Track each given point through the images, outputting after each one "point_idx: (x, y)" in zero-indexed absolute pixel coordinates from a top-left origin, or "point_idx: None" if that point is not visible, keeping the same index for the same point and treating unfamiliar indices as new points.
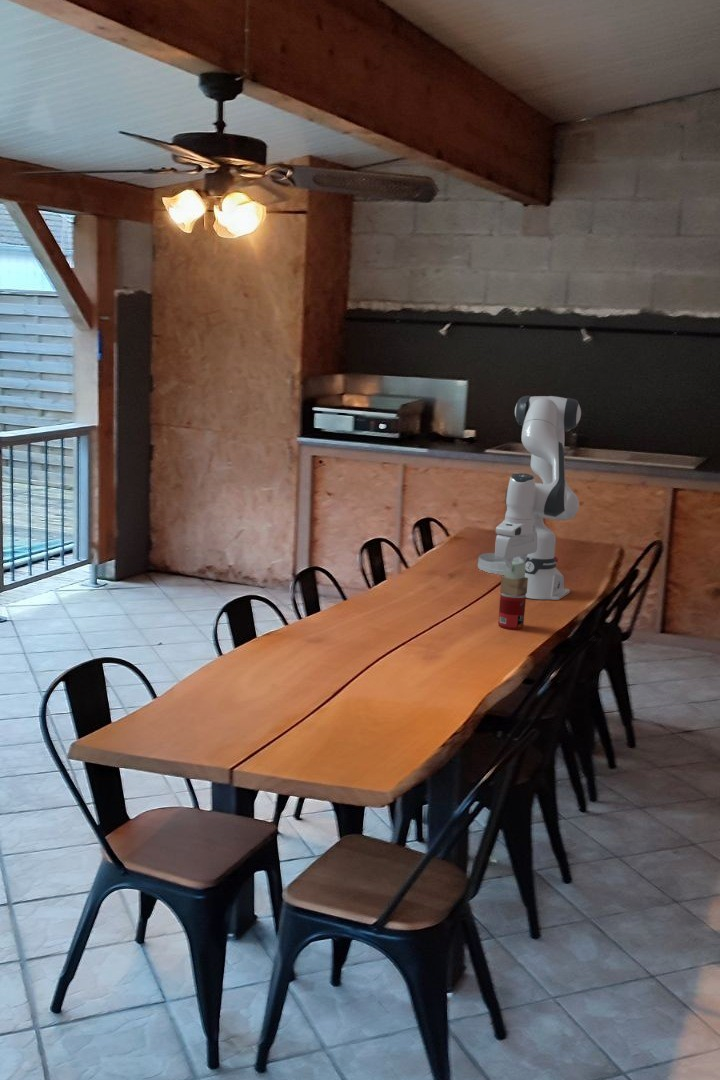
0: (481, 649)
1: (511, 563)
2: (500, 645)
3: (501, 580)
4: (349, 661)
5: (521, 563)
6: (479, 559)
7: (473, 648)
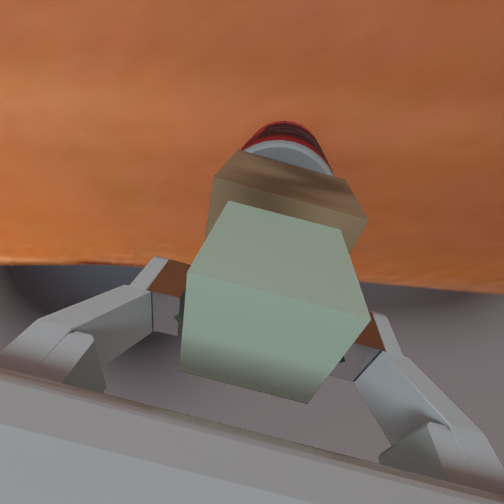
0: (20, 165)
1: (101, 353)
2: (90, 196)
3: (220, 171)
4: None
5: (289, 383)
6: None
7: (6, 143)
